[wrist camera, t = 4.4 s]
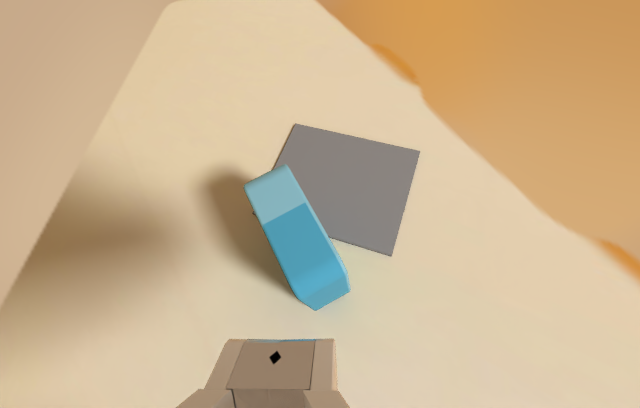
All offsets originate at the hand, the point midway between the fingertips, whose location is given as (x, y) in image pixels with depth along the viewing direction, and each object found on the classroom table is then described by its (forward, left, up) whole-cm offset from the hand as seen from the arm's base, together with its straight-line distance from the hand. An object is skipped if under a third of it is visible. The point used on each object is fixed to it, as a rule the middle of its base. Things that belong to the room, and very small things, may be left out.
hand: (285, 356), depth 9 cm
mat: (+20, +6, -27) cm, 34 cm away
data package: (+9, +6, -26) cm, 29 cm away
